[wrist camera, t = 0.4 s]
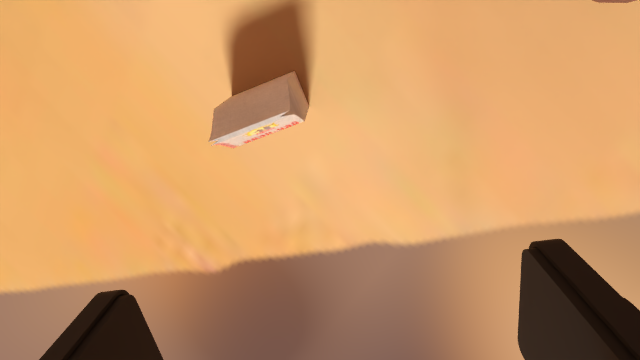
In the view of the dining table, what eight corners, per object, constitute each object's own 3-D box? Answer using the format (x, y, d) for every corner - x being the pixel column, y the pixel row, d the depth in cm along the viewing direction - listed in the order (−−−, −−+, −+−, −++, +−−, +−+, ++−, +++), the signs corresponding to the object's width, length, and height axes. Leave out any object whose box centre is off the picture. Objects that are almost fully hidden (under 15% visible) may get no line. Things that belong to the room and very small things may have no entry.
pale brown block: (232, 96, 37) (197, 120, 27) (294, 70, 35) (280, 87, 26) (248, 129, 38) (220, 164, 29) (309, 106, 37) (300, 134, 28)
